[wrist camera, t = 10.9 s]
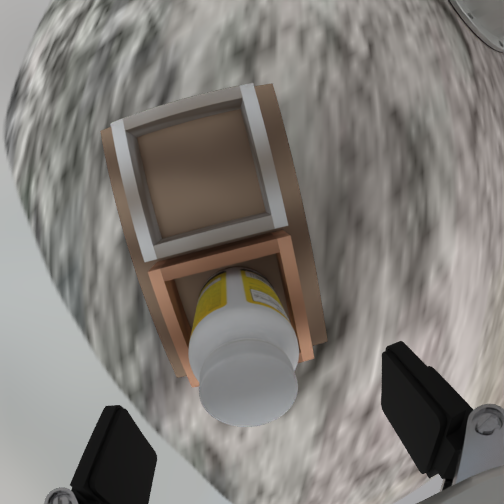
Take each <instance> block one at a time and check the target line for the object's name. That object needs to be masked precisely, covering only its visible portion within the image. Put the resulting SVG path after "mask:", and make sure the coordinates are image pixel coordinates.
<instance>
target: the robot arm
mask: <svg viewBox="0 0 504 504" xmlns="http://www.w3.org/2000/svg"><path fill="white" fill-rule="evenodd" d="M450 2H451V3H452V5H453V6H454V8H455V10H456V11H457V12H458V14H459V15H460V16H461V18H462V19H463V20H464V21H465V22H466V24H467V25H468V26H469V27H470V28H471V29H472V31H473V32H474V33H475V34H476V35H477V36H478V37H479V38H480V39H481V40H482V41H484V42H485V43H486V44H487V45H489V46H490V47H492V48H493V49H495V50H497V51H499V52H504V0H450ZM381 406H382V410H383V412H384V414H385V415H386V417H387V418H388V420H389V422H390V423H391V425H392V427H393V428H394V430H395V431H396V433H397V435H398V436H399V438H400V440H401V441H402V443H403V445H404V446H405V448H406V449H407V451H408V453H409V454H410V456H411V458H412V459H413V461H414V463H415V464H416V466H417V468H418V469H419V471H420V472H421V473H422V474H424V473H426V474H427V476H428V477H429V478H431V477H433V476H434V475H436V474H438V473H439V475H440V476H441V478H442V479H443V483H442V486H441V490H440V492H439V493H437V494H435V495H433V496H431V497H429V498H427V499H425V500H423V501H421V502H419V503H417V504H504V409H503V408H501V407H500V406H498V405H495V404H484V405H481V406H479V407H477V408H475V409H474V410H473V409H472V408H471V407H470V406H469V404H468V403H467V402H466V401H465V400H464V399H463V398H462V397H461V396H460V395H459V394H458V393H457V392H456V391H455V390H454V389H453V388H452V387H451V386H450V384H449V383H448V382H447V381H446V380H445V379H444V378H443V377H442V376H441V375H440V374H439V373H438V372H437V371H436V370H435V369H434V368H432V367H430V366H428V367H427V366H426V365H425V364H424V363H423V362H422V361H421V360H420V359H419V358H418V357H417V356H416V355H415V353H414V352H413V351H412V350H411V349H410V348H409V347H408V346H407V345H406V344H405V343H404V342H402V341H399V342H397V343H394V344H392V345H389V346H387V347H386V351H385V352H383V353H382V394H381ZM156 462H157V455H156V453H155V451H154V450H153V448H152V447H151V445H150V444H149V443H148V441H147V440H146V438H145V437H144V435H143V434H142V432H141V431H140V429H139V428H138V426H137V425H136V424H135V422H134V420H133V419H132V417H131V416H130V414H129V413H128V411H127V410H126V409H123V407H121V406H120V405H115V406H106V407H105V408H104V410H103V412H102V414H101V416H100V418H99V420H98V422H97V424H96V427H95V429H94V431H93V433H92V435H91V438H90V440H89V442H88V444H87V446H86V449H85V451H84V453H83V455H82V458H81V460H80V462H79V465H78V467H77V469H76V472H75V474H74V477H73V479H72V481H71V484H70V485H71V486H72V490H69V489H67V488H56V489H54V490H52V491H51V492H50V493H49V494H48V495H47V497H46V499H45V503H44V504H148V503H149V497H150V492H151V487H152V482H153V477H154V471H155V467H156Z"/></svg>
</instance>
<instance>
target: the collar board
mask: <svg viewBox="0 0 504 504" xmlns="http://www.w3.org/2000/svg"><path fill="white" fill-rule="evenodd" d="M101 137H102V142H103V148H104V153H105V158H106V163H107V168H108V172H109V177H110V181H111V185H112V190H113V194H114V198H115V202H116V206H117V210H118V214H119V217H120V221H121V225H122V228H123V232H124V235H125V239H126V242H127V246H128V249H129V252H130V255H131V259H132V262H133V265H134V268H135V271H136V274H137V277H138V280H139V283H140V286H141V289H142V292H143V295H144V297H145V300H146V303H147V306H148V308H149V311H150V314H151V316H152V319H153V322H154V324H155V327H156V329H157V332H158V334H159V337H160V339H161V342H162V344H163V347H164V349H165V351H166V354H167V356H168V358H169V361H170V363H171V365H172V368H173V370H174V372H175V374H176V377H177V378H178V377H184V376H187V377H188V379H189V382H190V384H191V386H192V387H198V386H199V381H198V380H197V379H196V377H195V375H194V374H193V371H192V369H191V366H190V363H189V355H188V352H189V342H190V337H191V332H192V327H193V322H194V317H195V312H196V307H197V302H198V297H199V294H200V291H201V289H202V287H203V285H204V284H205V283H206V281H207V280H208V279H209V278H210V277H211V276H213V275H214V274H216V273H217V272H219V271H221V270H224V269H227V268H233V267H243V268H248V269H252V270H254V271H256V272H258V273H260V274H261V275H263V276H264V277H265V278H266V279H267V280H268V281H269V282H270V284H271V285H272V286H273V288H274V290H275V292H276V294H277V296H278V298H279V300H280V302H281V304H282V306H283V309H284V311H285V313H286V315H287V317H288V319H289V321H290V323H291V325H292V327H293V329H294V331H295V334H296V337H297V341H298V346H299V359H298V363H300V362H304V361H307V360H311V359H314V354H313V348H312V346H314V345H317V344H320V343H324V342H327V334H326V327H325V321H324V314H323V308H322V302H321V296H320V290H319V285H318V279H317V273H316V268H315V262H314V257H313V252H312V247H311V242H310V237H309V232H308V227H307V222H306V217H305V212H304V208H303V203H302V198H301V194H300V189H299V185H298V181H297V176H296V172H295V168H294V164H293V159H292V155H291V151H290V147H289V143H288V139H287V135H286V131H285V128H284V124H283V120H282V116H281V112H280V109H279V105H278V101H277V98H276V94H275V91H274V87H273V84H266V85H260V86H254V84H253V83H250V84H245V85H240V86H235V87H230V88H225V89H221V90H216V91H212V92H208V93H204V94H200V95H196V96H192V97H188V98H184V99H181V100H177V101H174V102H171V103H167V104H164V105H161V106H157V107H154V108H151V109H148V110H145V111H142V112H139V113H136V114H134V115H131V116H128V117H125V118H123V119H120V120H117V121H115V122H112V123H111V127H109V128H107V129H104V130H102V131H101Z"/></svg>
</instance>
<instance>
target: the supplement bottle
mask: <svg viewBox="0 0 504 504" xmlns="http://www.w3.org/2000/svg"><path fill="white" fill-rule="evenodd" d="M188 355H189V363H190V366H191V369H192V371H193V374H194V375H195V377H196V379H197V380H198V381H199V396H200V400H201V403H202V405H203V407H204V408H205V410H206V411H207V412H208V413H209V414H210V415H211V416H212V417H214V418H215V419H217V420H219V421H221V422H223V423H225V424H229V425H232V426H238V427H253V426H260V425H264V424H266V423H269V422H272V421H274V420H276V419H278V418H279V417H281V416H282V415H283V414H285V413H286V412H287V411H288V410H289V409H290V407H291V406H292V405H293V403H294V401H295V399H296V396H297V392H298V382H297V378H296V375H295V372H294V371H295V369H296V366H297V363H298V359H299V346H298V341H297V337H296V334H295V331H294V329H293V327H292V325H291V323H290V321H289V319H288V317H287V315H286V313H285V311H284V309H283V306H282V304H281V302H280V300H279V298H278V296H277V294H276V292H275V290H274V288H273V286H272V285H271V284H270V282H269V281H268V280H267V279H266V278H265V277H264V276H263V275H261V274H260V273H258V272H256V271H254V270H252V269H248V268H243V267H233V268H227V269H224V270H221V271H219V272H217V273H216V274H214V275H213V276H211V277H210V278H209V279H208V280H207V281H206V283H205V284H204V285H203V287H202V289H201V291H200V294H199V297H198V302H197V307H196V312H195V317H194V322H193V327H192V332H191V337H190V342H189V352H188Z"/></svg>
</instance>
